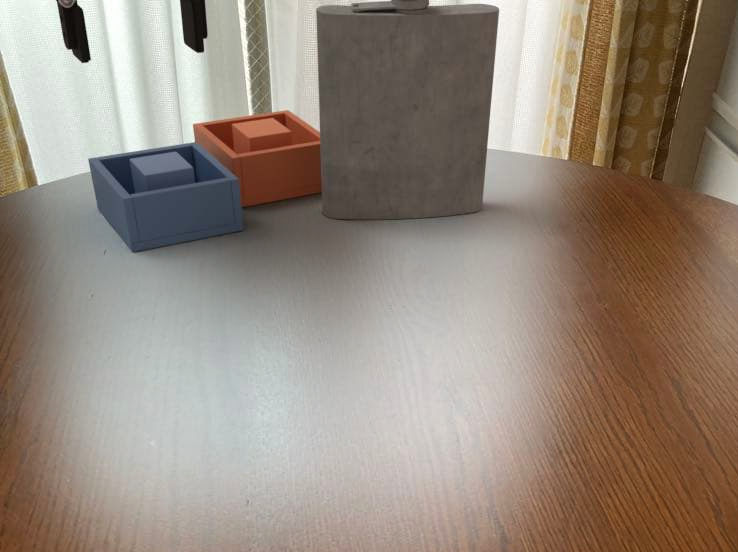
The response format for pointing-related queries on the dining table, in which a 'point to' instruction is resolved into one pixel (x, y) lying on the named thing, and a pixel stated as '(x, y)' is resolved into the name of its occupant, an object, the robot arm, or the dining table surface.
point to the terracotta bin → (267, 159)
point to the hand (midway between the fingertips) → (139, 53)
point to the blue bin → (167, 200)
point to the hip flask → (404, 107)
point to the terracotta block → (260, 135)
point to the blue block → (160, 172)
